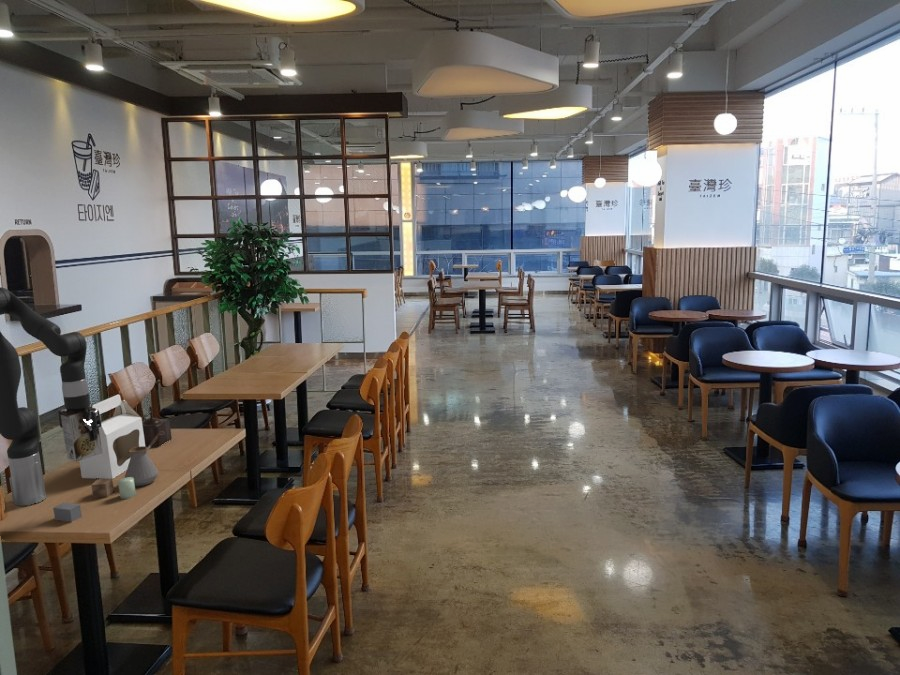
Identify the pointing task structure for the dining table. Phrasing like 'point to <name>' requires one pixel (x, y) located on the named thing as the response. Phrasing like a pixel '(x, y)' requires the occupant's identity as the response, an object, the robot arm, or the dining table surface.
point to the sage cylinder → (126, 487)
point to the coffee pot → (142, 465)
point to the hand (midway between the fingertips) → (82, 440)
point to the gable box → (114, 440)
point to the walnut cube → (102, 488)
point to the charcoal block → (67, 512)
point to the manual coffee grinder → (155, 430)
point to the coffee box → (79, 436)
